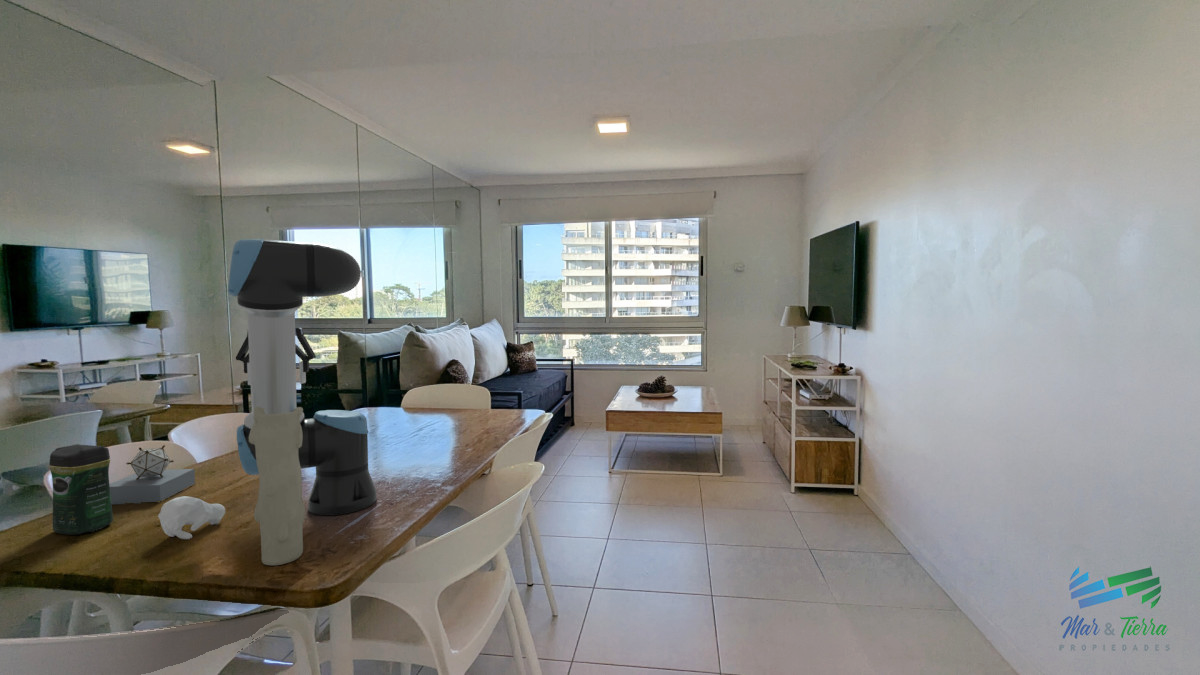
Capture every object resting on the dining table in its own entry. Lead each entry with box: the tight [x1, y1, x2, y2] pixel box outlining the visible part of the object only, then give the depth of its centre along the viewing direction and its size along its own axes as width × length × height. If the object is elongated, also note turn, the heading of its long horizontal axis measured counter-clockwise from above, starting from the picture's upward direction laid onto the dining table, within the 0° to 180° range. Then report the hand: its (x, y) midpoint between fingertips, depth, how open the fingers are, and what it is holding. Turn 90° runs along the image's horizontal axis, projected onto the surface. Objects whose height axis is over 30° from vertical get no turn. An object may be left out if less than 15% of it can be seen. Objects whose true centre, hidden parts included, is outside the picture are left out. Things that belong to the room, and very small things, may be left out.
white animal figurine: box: [157, 495, 226, 540], centre depth 109 cm, size 6×8×12 cm
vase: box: [249, 406, 306, 566], centre depth 97 cm, size 9×8×30 cm
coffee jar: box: [48, 443, 114, 536], centre depth 110 cm, size 10×8×19 cm
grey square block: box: [109, 468, 196, 505], centre depth 131 cm, size 13×13×5 cm
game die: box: [125, 444, 175, 480], centre depth 131 cm, size 9×8×10 cm
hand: (277, 383), depth 147 cm, fingers open, 13 cm apart
